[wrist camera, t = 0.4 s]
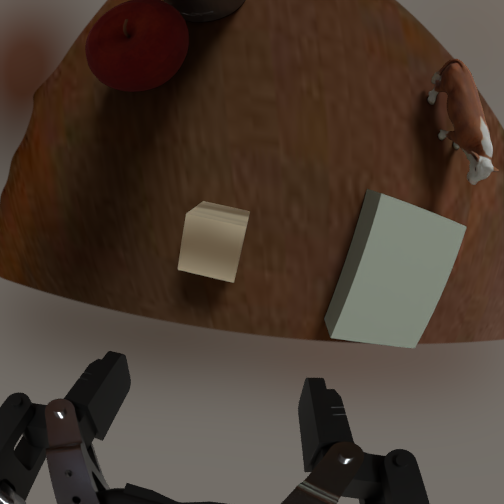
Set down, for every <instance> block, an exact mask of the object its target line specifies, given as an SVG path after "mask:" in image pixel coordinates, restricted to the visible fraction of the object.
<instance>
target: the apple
mask: <svg viewBox="0 0 504 504" xmlns="http://www.w3.org/2000/svg"><path fill="white" fill-rule="evenodd" d="M188 46H189V31H188V28H187V25H186V22H185V20H184V18H183V17H182V15H181V14H180V13H179V11H178V10H177V9H175V8H174V7H173V6H172V5H170V4H168V3H166V2H163V1H161V0H131V1H128V2H125V3H122V4H120V5H118V6H116V7H114V8H112V9H111V10H109V11H108V12H106V13H105V14H104V15H103V16H102V17H101V18H99V20H98V21H97V22H96V23H95V24H94V26H93V27H92V29H91V30H90V32H89V35H88V37H87V41H86V57H87V61H88V65H89V67H90V69H91V71H92V72H93V74H94V75H95V76H96V77H97V78H98V79H99V81H101V82H102V83H104V84H105V85H107V86H109V87H111V88H114V89H117V90H121V91H129V92H137V91H146V90H150V89H153V88H156V87H158V86H160V85H162V84H164V83H165V82H167V81H168V80H169V79H171V78H172V77H173V76H174V75H175V74H176V72H177V71H178V70H179V69H180V67H181V65H182V63H183V62H184V59H185V57H186V54H187V52H188Z"/></svg>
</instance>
